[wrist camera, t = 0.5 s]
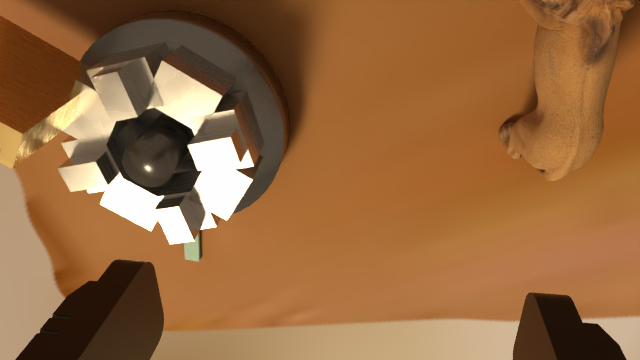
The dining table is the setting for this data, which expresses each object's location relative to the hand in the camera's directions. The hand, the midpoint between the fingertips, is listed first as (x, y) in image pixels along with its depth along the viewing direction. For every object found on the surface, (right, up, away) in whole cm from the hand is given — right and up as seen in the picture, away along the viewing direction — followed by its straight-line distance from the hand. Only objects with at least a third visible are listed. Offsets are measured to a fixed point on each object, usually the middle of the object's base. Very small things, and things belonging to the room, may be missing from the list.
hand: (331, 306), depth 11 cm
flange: (-8, +6, +19) cm, 22 cm away
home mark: (-9, -1, +24) cm, 25 cm away
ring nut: (-11, +7, +16) cm, 21 cm away
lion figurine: (+10, +10, +14) cm, 20 cm away
